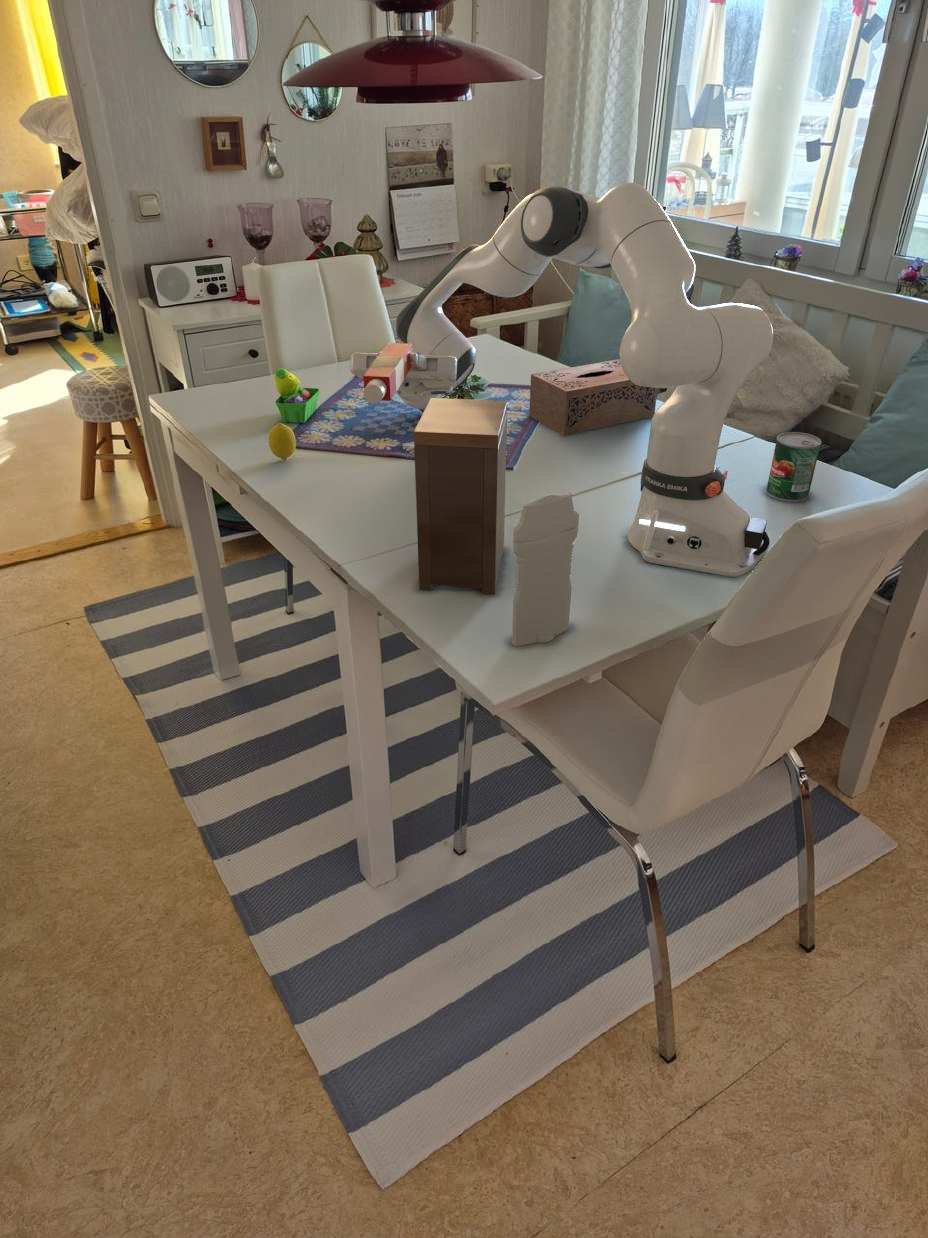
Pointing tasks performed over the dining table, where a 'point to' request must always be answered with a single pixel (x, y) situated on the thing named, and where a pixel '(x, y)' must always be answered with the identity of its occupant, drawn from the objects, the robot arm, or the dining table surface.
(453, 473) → the walnut stand
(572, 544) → the tall pale column
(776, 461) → the canned tomato
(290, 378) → the fruit basket
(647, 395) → the tissue box cover
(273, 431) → the lemon
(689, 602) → the dining table surface
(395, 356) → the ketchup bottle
